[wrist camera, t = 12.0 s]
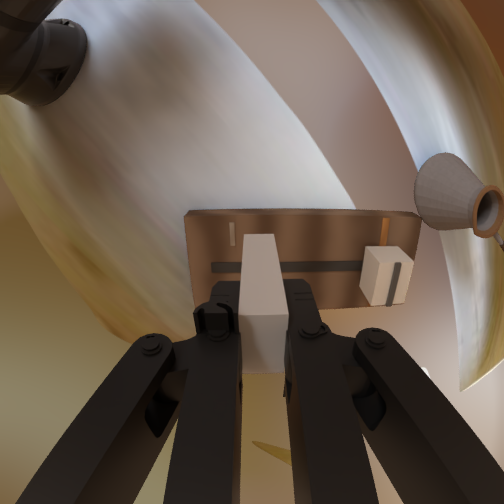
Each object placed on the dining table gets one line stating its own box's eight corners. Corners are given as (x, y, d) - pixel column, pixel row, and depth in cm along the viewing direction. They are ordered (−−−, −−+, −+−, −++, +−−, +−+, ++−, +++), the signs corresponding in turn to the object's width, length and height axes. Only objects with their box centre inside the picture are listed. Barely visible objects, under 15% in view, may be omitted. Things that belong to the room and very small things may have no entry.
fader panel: (199, 299, 42) (195, 311, 39) (189, 210, 37) (183, 217, 34) (396, 294, 41) (403, 304, 39) (412, 212, 36) (422, 218, 33)
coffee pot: (391, 190, 35) (454, 224, 21) (434, 134, 31) (505, 144, 17) (457, 269, 40) (506, 315, 26) (491, 223, 36) (546, 256, 22)
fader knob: (359, 286, 37) (371, 307, 32) (365, 246, 35) (381, 264, 30) (389, 284, 37) (405, 304, 32) (397, 246, 34) (415, 263, 29)
